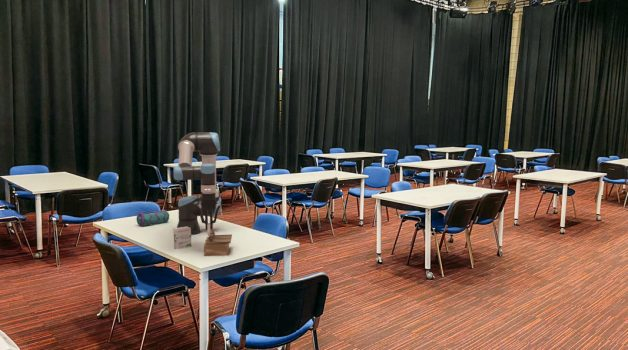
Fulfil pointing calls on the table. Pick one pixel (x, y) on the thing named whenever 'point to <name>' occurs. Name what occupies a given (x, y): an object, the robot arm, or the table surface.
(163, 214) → the pencil case
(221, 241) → the lid
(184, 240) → the ink box
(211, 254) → the oak box
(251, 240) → the table surface
